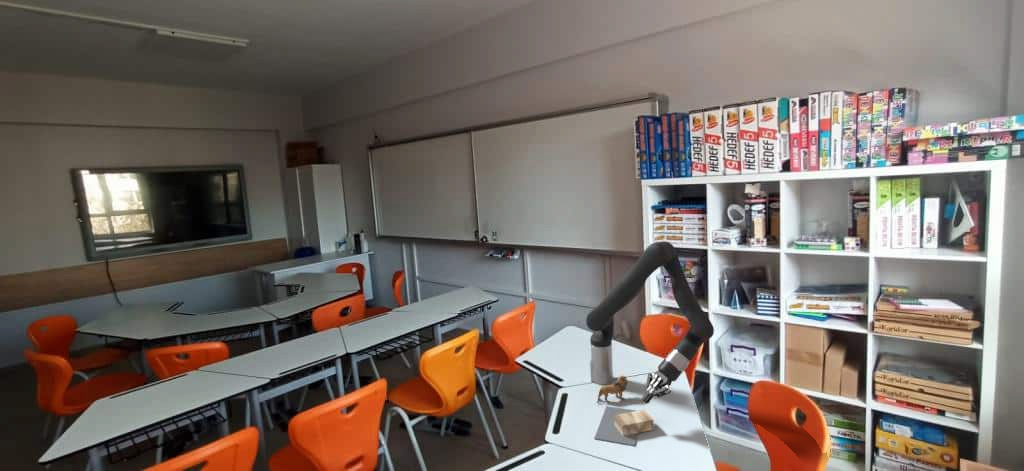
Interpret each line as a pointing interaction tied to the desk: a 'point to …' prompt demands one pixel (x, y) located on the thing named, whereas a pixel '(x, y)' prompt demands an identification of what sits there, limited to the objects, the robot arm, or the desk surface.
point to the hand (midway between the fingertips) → (643, 401)
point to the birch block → (634, 422)
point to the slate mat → (613, 428)
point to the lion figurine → (613, 389)
